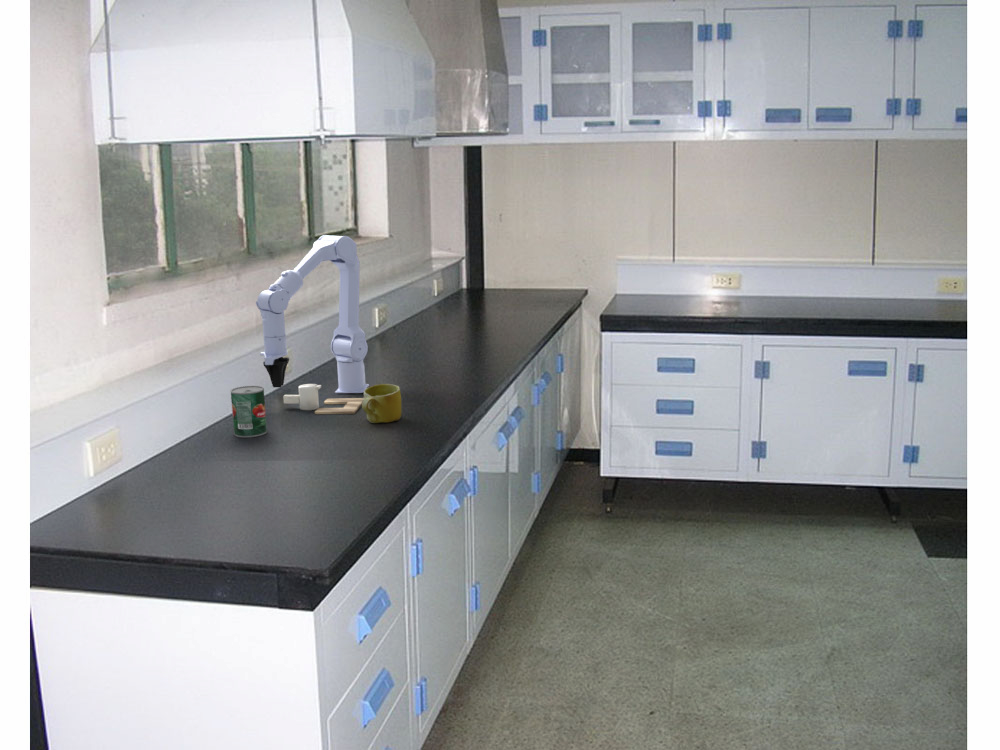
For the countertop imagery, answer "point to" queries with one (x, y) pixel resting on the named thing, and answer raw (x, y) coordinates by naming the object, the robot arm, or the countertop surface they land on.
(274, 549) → the countertop surface
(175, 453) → the countertop surface
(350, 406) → the dock
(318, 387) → the white piece
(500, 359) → the countertop surface
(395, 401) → the mug
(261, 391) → the canned tomato
